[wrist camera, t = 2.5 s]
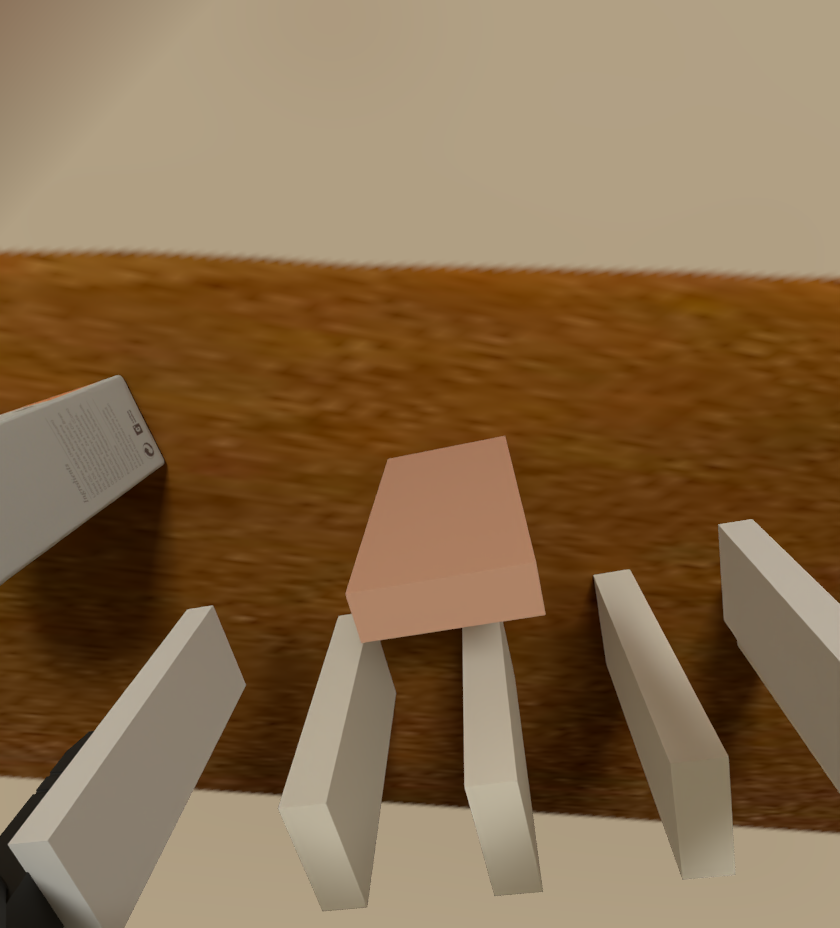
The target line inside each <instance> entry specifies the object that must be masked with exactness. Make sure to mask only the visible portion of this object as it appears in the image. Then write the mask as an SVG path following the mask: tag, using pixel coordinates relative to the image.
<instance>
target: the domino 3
mask: <svg viewBox="0 0 840 928" xmlns="http://www.w3.org/2000/svg"><path fill="white" fill-rule="evenodd" d="M462 641H463V718H464V787H465V791H466V795H467V798H468V802H469V805H470V809H471V813H472V816H473V820H474V823H475V827H476V831H477V834H478V838H479V841H480V845H481V849H482V853H483V856H484V860H485V863H486V867H487V870H488V874H489V878H490V882H491V885H492V889H493V892H494V896H501V895H512V894H522V893H523V894H524V893H535V892H543V890H542V881H541V874H540V866H539V858H538V851H537V843H536V836H535V828H534V820H533V813H532V805H531V797H530V790H529V782H528V775H527V767H526V759H525V752H524V744H523V737H522V729H521V721H520V714H519V706H518V699H517V691H516V683H515V676H514V671H513V667H512V662H511V657H510V653H509V648H508V644H507V639H506V634H505V630H504V625H503V621H502V622H496V623H489V624H482V625H476V626H469V627H463V628H462Z"/></svg>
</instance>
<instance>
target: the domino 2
mask: <svg viewBox="0 0 840 928" xmlns="http://www.w3.org/2000/svg"><path fill="white" fill-rule="evenodd" d="M346 597H347V600H348V604H349V607H350V610H351V613H352V616H353V619H354V622H355V625H356V628H357V631H358V634H359V638H360V641H361V643H365V642H372V641H378V640H385V639H391V638H398V637H404V636H411V635H417V634H424V633H430V632H437V631H443V630H450V629H456V628H463V627H469V626H476V625H482V624H489V623H496V622H502V621H509V620H515V619H522V618H528V617H535V616H541V615H546V614H545V609H544V603H543V598H542V592H541V587H540V581H539V576H538V571H537V565H536V560H535V556H534V552H533V548H532V544H531V540H530V536H529V532H528V528H527V524H526V520H525V515H524V511H523V507H522V503H521V499H520V495H519V491H518V487H517V483H516V479H515V475H514V471H513V466H512V462H511V458H510V454H509V450H508V446H507V442H506V438H505V436H502V437H497V438H492V439H487V440H482V441H476V442H471V443H466V444H461V445H456V446H451V447H446V448H441V449H436V450H431V451H426V452H421V453H416V454H411V455H406V456H401V457H396V458H390V459H388V460H387V464H386V467H385V470H384V473H383V476H382V479H381V483H380V486H379V489H378V492H377V495H376V498H375V502H374V505H373V508H372V511H371V514H370V518H369V521H368V524H367V527H366V530H365V533H364V537H363V540H362V543H361V546H360V549H359V552H358V556H357V559H356V562H355V565H354V568H353V571H352V575H351V578H350V581H349V584H348V587H347V590H346Z"/></svg>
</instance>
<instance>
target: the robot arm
mask: <svg viewBox="0 0 840 928" xmlns="http://www.w3.org/2000/svg"><path fill="white" fill-rule="evenodd" d="M718 531H719V547H720V564H721V581H722V598H723V614H724V621H725V623H726V624H727V625H728V627H729V628H730V630H731V631H732V633H733V634H734V636H735V637H736V639H737V640H738V642H739V643H740V645H741V646H742V648H743V649H744V651H745V652H746V653H747V655H748V656H749V658H750V659H751V661H752V662H753V664H754V665H755V667H756V668H757V670H758V671H759V673H760V674H761V676H762V677H763V678H764V680H765V681H766V683H767V684H768V686H769V687H770V689H771V690H772V692H773V693H774V695H775V696H776V698H777V699H778V701H779V702H780V704H781V705H782V706H783V708H784V709H785V711H786V712H787V714H788V715H789V717H790V718H791V720H792V721H793V723H794V724H795V726H796V727H797V729H798V730H799V732H800V733H801V734H802V736H803V737H804V739H805V740H806V742H807V743H808V745H809V746H810V748H811V749H812V751H813V752H814V754H815V755H816V757H817V758H818V759H819V761H820V762H821V764H822V765H823V767H824V768H825V770H826V771H827V773H828V774H829V776H830V777H831V779H832V780H833V782H834V783H835V785H836V786H837V787H838V789H839V790H840V604H839V603H838V602H837V601H836V600H835V599H834V598H833V597H832V596H831V595H830V594H829V593H828V592H827V591H826V590H825V589H824V588H823V587H822V586H821V585H819V584H818V583H817V582H816V581H815V580H814V579H813V578H812V577H811V576H810V575H809V574H808V573H807V572H806V571H805V570H804V569H803V568H802V567H801V566H800V565H799V564H798V563H797V562H796V561H795V560H794V559H793V558H792V557H791V556H790V555H789V554H788V553H787V552H786V551H784V550H783V549H782V548H781V547H780V546H779V545H778V544H777V543H776V542H775V541H774V540H773V539H772V538H771V537H770V536H769V535H768V534H767V533H766V532H765V531H764V530H763V529H762V528H761V527H760V526H759V525H758V524H757V523H756V522H755V521H754V520H753V519H750V520H744V521H737V522H731V523H725V524H719V525H718ZM245 686H246V684H245V682H244V679H243V677H242V674H241V672H240V670H239V667H238V665H237V662H236V660H235V657H234V655H233V653H232V650H231V648H230V645H229V643H228V640H227V638H226V636H225V633H224V631H223V628H222V626H221V624H220V621H219V619H218V616H217V614H216V611H215V609H214V607H213V605H212V606H206V607H200V608H193V609H187V611H186V612H185V613H184V615H183V616H182V617H181V618H180V620H179V621H178V622H177V624H176V625H175V626H174V628H173V629H172V630H171V632H170V633H169V634H168V635H167V637H166V638H165V639H164V641H163V642H162V643H161V645H160V646H159V647H158V649H157V650H156V651H155V652H154V654H153V655H152V656H151V658H150V659H149V660H148V662H147V663H146V664H145V666H144V667H143V668H142V669H141V671H140V672H139V673H138V675H137V676H136V677H135V679H134V680H133V681H132V683H131V684H130V685H129V686H128V688H127V689H126V690H125V692H124V693H123V694H122V696H121V697H120V698H119V700H118V701H117V702H116V703H115V705H114V706H113V707H112V709H111V710H110V711H109V713H108V714H107V715H106V717H105V718H104V719H103V720H102V722H101V723H100V724H99V726H98V727H97V728H96V730H95V731H90V732H89V733H87V734H86V735H85V736H84V737H83V738H82V739H80V740H79V741H78V742H77V743H76V744H75V745H73V746H72V747H71V748H70V749H69V750H68V751H67V752H66V753H65V754H64V756H63V757H62V758H61V759H60V761H59V762H58V763H57V764H56V766H55V767H54V768H53V770H52V771H51V772H50V776H49V777H46V778H45V780H44V781H43V782H42V783H41V785H40V786H39V787H38V789H37V790H36V791H37V792H36V794H33V795H32V796H31V798H30V799H29V800H28V801H27V803H26V804H25V805H24V806H23V808H22V809H21V810H20V811H19V813H18V814H17V815H16V816H15V818H14V819H13V820H12V822H11V823H10V824H9V825H8V827H7V828H6V829H5V831H4V832H3V833H2V834H1V836H0V928H124V927H125V925H126V923H127V921H128V919H129V917H130V915H131V913H132V911H133V909H134V907H135V905H136V903H137V901H138V899H139V897H140V895H141V893H142V891H143V889H144V887H145V885H146V883H147V881H148V879H149V877H150V875H151V873H152V871H153V869H154V867H155V865H156V863H157V861H158V859H159V857H160V855H161V853H162V851H163V849H164V847H165V845H166V843H167V841H168V839H169V837H170V835H171V833H172V831H173V829H174V827H175V825H176V823H177V821H178V819H179V817H180V815H181V813H182V811H183V809H184V807H185V805H186V803H187V801H188V799H189V797H190V795H191V793H192V791H193V789H194V787H195V785H196V783H197V781H198V779H199V778H200V776H201V774H202V772H203V770H204V768H205V766H206V764H207V762H208V760H209V758H210V756H211V754H212V752H213V750H214V748H215V746H216V744H217V742H218V740H219V738H220V736H221V734H222V732H223V730H224V728H225V726H226V724H227V722H228V720H229V718H230V716H231V714H232V712H233V710H234V708H235V706H236V704H237V702H238V700H239V698H240V696H241V694H242V692H243V690H244V688H245Z"/></svg>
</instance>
